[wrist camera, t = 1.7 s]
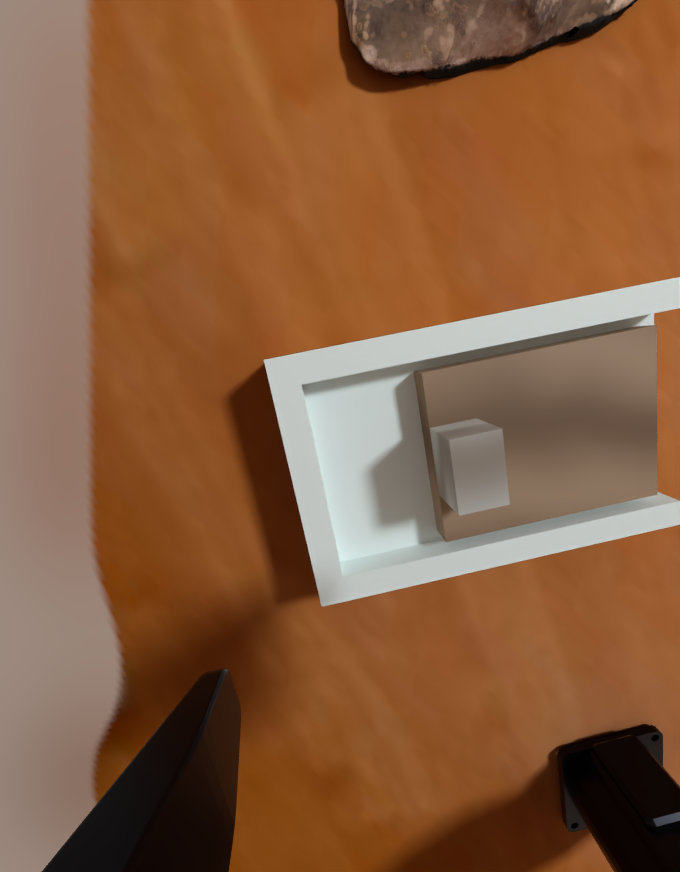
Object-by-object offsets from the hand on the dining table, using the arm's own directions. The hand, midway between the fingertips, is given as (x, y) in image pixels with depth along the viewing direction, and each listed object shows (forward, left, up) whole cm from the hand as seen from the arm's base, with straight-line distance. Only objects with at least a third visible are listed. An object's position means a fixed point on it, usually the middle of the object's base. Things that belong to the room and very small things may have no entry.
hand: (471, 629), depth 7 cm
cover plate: (0, -8, -11) cm, 13 cm away
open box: (0, -5, -12) cm, 13 cm away
